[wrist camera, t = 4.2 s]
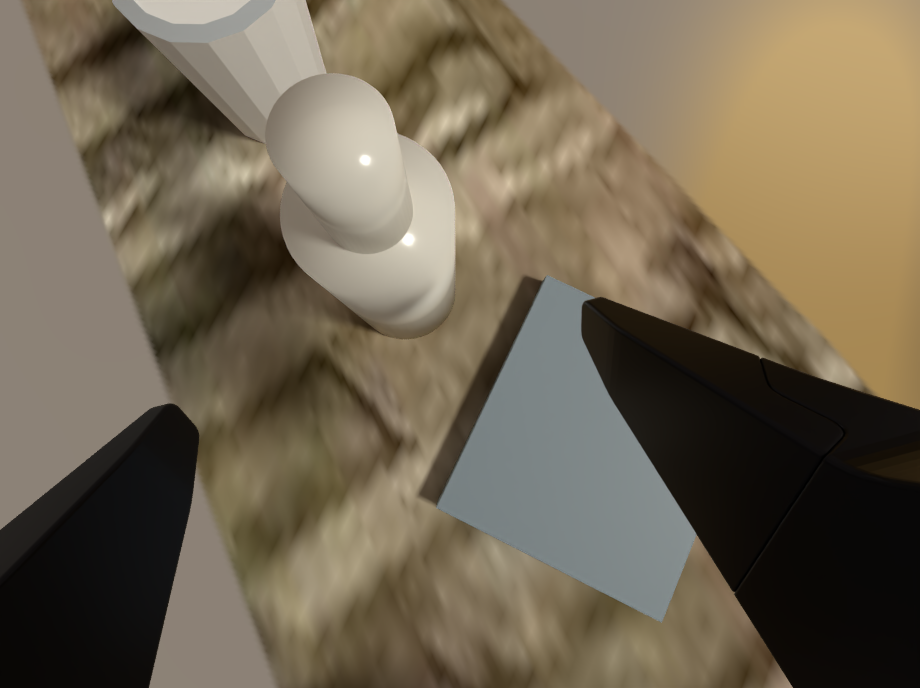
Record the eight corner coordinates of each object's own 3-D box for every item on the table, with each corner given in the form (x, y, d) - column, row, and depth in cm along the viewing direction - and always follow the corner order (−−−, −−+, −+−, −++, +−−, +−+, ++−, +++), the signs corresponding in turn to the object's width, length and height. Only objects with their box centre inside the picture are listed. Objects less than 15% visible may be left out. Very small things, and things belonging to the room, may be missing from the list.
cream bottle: (428, 356, 20) (383, 294, 8) (338, 312, 20) (157, 185, 8) (472, 268, 21) (496, 81, 8) (384, 226, 21) (281, -16, 9)
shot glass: (187, 110, 22) (60, -24, 15) (266, 15, 22) (181, -154, 16) (290, 179, 21) (209, 75, 14) (367, 80, 22) (327, -64, 15)
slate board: (650, 610, 19) (661, 622, 18) (437, 501, 19) (436, 507, 18) (744, 376, 20) (759, 375, 19) (542, 280, 21) (547, 275, 20)
